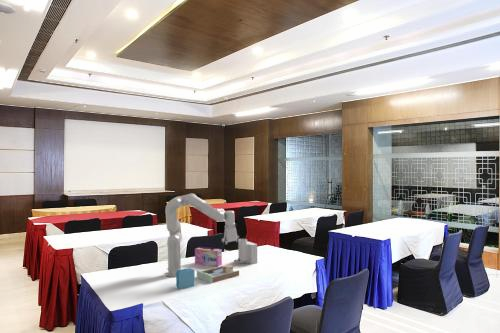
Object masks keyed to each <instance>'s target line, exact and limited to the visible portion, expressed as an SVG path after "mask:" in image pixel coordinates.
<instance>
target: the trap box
mask: <svg viewBox="0 0 500 333" xmlns="http://www.w3.org/2000/svg"><path fill="white" fill-rule="evenodd" d="M223 266H224V265H220V266H218V267H214V268H210V269H205V270H201V271H200V270H198V269H197V270H196V278H198V279H200V280H202V281H205V282H207V283H210V284H214V283H216V282H219V281H220V282H221V281H224V280H228V279H231V278H234V277H239V276H240V270H233V271H231V272H224V271H223Z"/></svg>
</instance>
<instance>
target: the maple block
mask: <svg viewBox="0 0 500 333" xmlns="http://www.w3.org/2000/svg"><path fill="white" fill-rule="evenodd" d="M222 266H223V271H224V272H231V271H234V265H231V264H227V265H222Z"/></svg>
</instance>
